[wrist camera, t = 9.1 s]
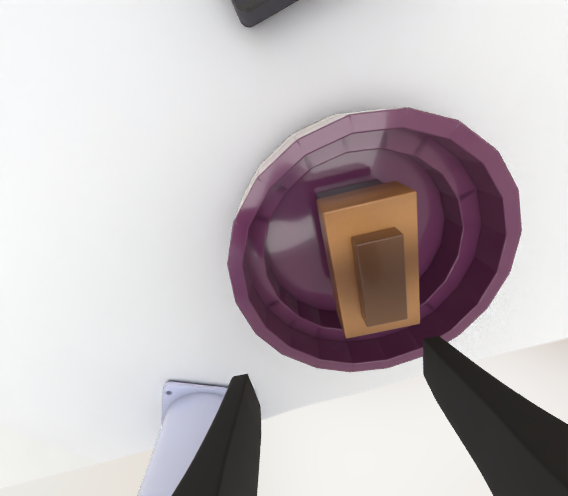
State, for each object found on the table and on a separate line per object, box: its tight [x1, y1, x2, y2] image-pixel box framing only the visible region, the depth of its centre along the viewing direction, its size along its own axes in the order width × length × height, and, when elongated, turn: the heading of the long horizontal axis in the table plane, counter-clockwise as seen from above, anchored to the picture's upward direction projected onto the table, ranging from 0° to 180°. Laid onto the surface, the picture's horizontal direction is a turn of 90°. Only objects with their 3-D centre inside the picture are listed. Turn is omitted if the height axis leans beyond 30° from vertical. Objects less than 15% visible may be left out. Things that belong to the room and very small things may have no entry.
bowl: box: [227, 107, 522, 372], centre depth 17 cm, size 16×16×4 cm
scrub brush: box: [316, 179, 420, 338], centre depth 16 cm, size 8×4×6 cm, turn 13°
